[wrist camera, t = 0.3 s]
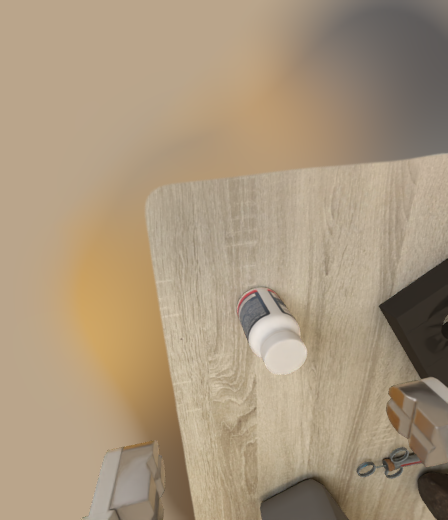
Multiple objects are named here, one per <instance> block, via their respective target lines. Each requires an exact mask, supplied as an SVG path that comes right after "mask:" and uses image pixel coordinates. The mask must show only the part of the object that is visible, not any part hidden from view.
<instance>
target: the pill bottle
mask: <svg viewBox="0 0 448 520" xmlns="http://www.w3.org/2000/svg"><path fill="white" fill-rule="evenodd" d="M237 314H238V317H239V320H240V322H241V325H242V327H243V330H244V333H245V335H246V338H247V340H248V343H249V345H250V348H251V350H252V351H253V353H254V354H255V355H257V356H258V357H260V358H262V360H263V362H264V364H265V366H266V368H267V369H268V370H269V371H270V372H272V373H274V374H277V375H285V374H290V373H292V372H294V371H296V370H298V369H299V368H300V367H301V366H302V365H303V364H304V362H305V360H306V358H307V348H306V346H305V344H304V343H303V341H302V339H301V331H300V327H299V325H298V323H297V321H296V320H295V318H294V317H293V315H292V314H291V313H290V311H289V310H288V308H287V307H286V306H285V304H284V303H283V302H282V300H281V299H280V298H279V296H278V295H277V294H276V293H275V292H274V291H273V290H271V289H269V288H265V287H258V288H253V289H251V290H249V291H247V292H246V293H245V294H243V296H242V297H241V298H240V300H239V302H238V305H237Z"/></svg>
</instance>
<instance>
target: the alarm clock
mask: <svg viewBox="0 0 448 520" xmlns="http://www.w3.org/2000/svg"><path fill="white" fill-rule="evenodd" d="M260 510H261V516H262V520H349V519H348V518H347V517H346V515H345V514H344V512H343V511H342V510H341V508H340V507H339V506H338V504H337V503H336V502H335V500H334V499H333V498H332V496H331V495H330V493H329V492H328V491H327V489H326V488H325V487H324V485H323V484H321V483H319V482H317V481H314V480H312V479H310V480H305V481H303V482H301V483H299V484H297V485H295V486H293V487H291V488H289V489H287V490H285V491H284V492H282V493H280V494H278V495H276V496H274V497H272V498H270V499H268V500H266V501H264V502H263V503H261V507H260Z"/></svg>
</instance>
